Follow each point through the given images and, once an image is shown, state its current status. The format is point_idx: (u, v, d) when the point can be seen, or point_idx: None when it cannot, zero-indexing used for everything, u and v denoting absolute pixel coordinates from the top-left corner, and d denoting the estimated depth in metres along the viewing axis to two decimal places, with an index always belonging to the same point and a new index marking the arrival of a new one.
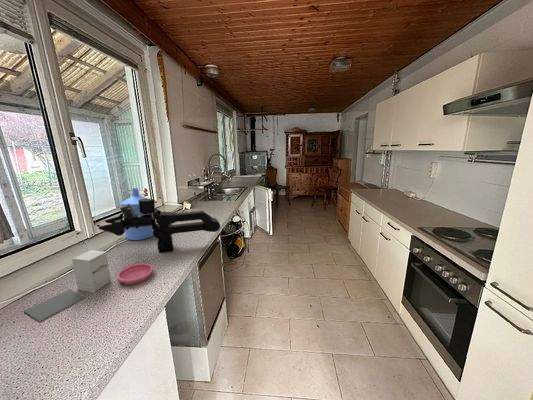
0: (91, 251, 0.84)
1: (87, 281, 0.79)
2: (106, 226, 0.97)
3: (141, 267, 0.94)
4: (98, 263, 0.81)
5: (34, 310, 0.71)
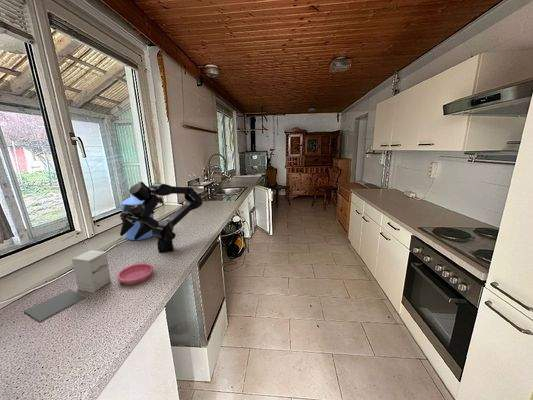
0: (91, 251, 0.84)
1: (87, 281, 0.79)
2: (139, 232, 0.93)
3: (141, 267, 0.94)
4: (98, 263, 0.81)
5: (34, 310, 0.71)
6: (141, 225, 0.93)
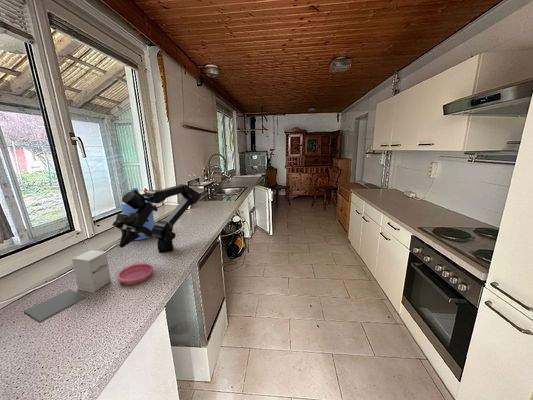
0: (91, 251, 0.84)
1: (87, 281, 0.79)
2: (126, 240, 0.92)
3: (141, 267, 0.94)
4: (98, 263, 0.81)
5: (34, 310, 0.71)
6: (127, 233, 0.92)
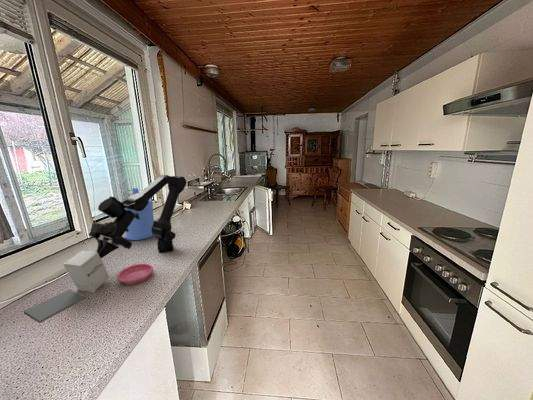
0: (82, 252, 0.81)
1: (84, 283, 0.78)
2: (102, 252, 0.84)
3: (141, 267, 0.94)
4: (91, 266, 0.78)
5: (34, 310, 0.71)
6: (104, 244, 0.84)
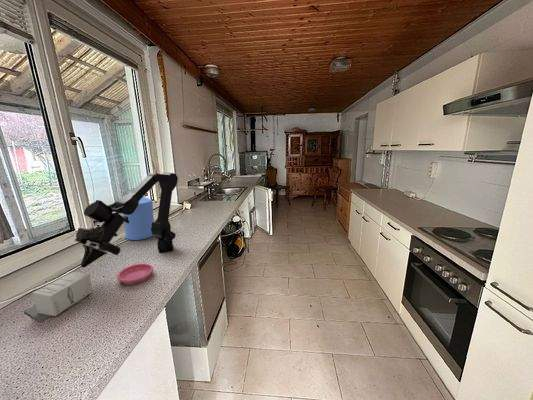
0: (36, 296, 0.67)
1: None
2: (88, 258, 0.80)
3: (141, 267, 0.94)
4: (63, 301, 0.70)
5: (34, 310, 0.71)
6: (90, 250, 0.80)
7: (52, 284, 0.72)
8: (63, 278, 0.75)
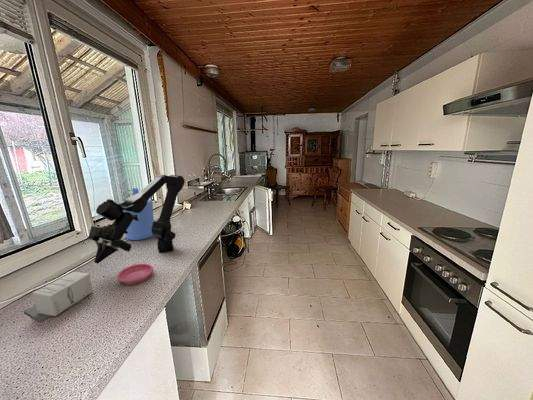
0: (36, 296, 0.67)
1: None
2: (101, 255, 0.84)
3: (141, 267, 0.94)
4: (63, 301, 0.70)
5: (34, 310, 0.71)
6: (103, 247, 0.84)
7: (52, 284, 0.72)
8: (63, 278, 0.75)
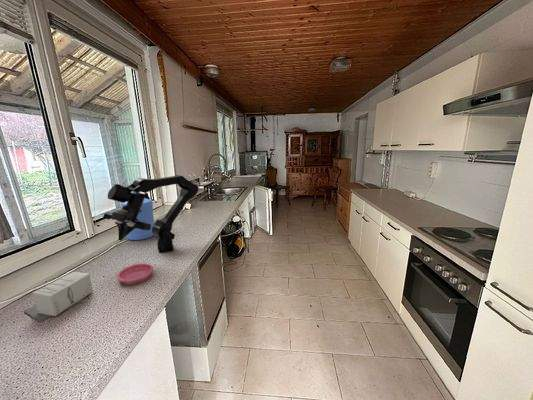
0: (36, 296, 0.67)
1: None
2: (124, 234, 0.95)
3: (141, 267, 0.94)
4: (63, 301, 0.70)
5: (34, 310, 0.71)
6: (125, 228, 0.94)
7: (52, 284, 0.72)
8: (63, 278, 0.75)
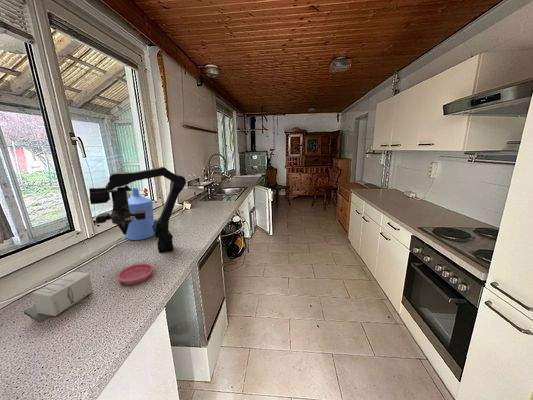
0: (36, 296, 0.67)
1: None
2: (127, 227, 1.01)
3: (141, 267, 0.94)
4: (63, 301, 0.70)
5: (34, 310, 0.71)
6: (126, 223, 0.99)
7: (52, 284, 0.72)
8: (63, 278, 0.75)
